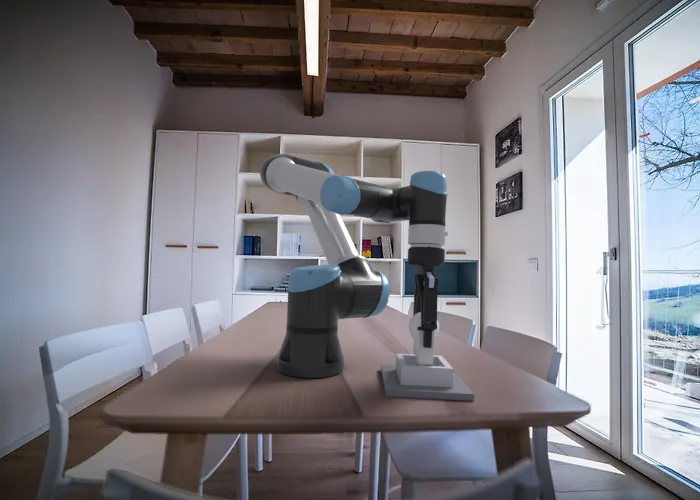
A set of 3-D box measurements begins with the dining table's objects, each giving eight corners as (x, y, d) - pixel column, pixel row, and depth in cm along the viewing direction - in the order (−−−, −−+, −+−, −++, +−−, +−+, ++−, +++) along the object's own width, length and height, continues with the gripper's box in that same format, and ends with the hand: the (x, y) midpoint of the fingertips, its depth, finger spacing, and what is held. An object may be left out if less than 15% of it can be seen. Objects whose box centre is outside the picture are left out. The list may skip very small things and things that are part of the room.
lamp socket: (385, 396, 65) (386, 370, 65) (380, 370, 81) (381, 349, 81) (474, 400, 64) (474, 374, 64) (451, 373, 80) (452, 352, 80)
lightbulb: (438, 371, 69) (440, 314, 69) (406, 368, 70) (408, 312, 71) (437, 363, 75) (438, 311, 75) (408, 360, 76) (409, 309, 77)
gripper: (457, 245, 64) (453, 374, 63) (434, 249, 83) (431, 348, 82) (415, 243, 64) (410, 372, 63) (402, 248, 83) (399, 347, 82)
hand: (422, 358), depth 73 cm, fingers closed on lightbulb, 6 cm apart
